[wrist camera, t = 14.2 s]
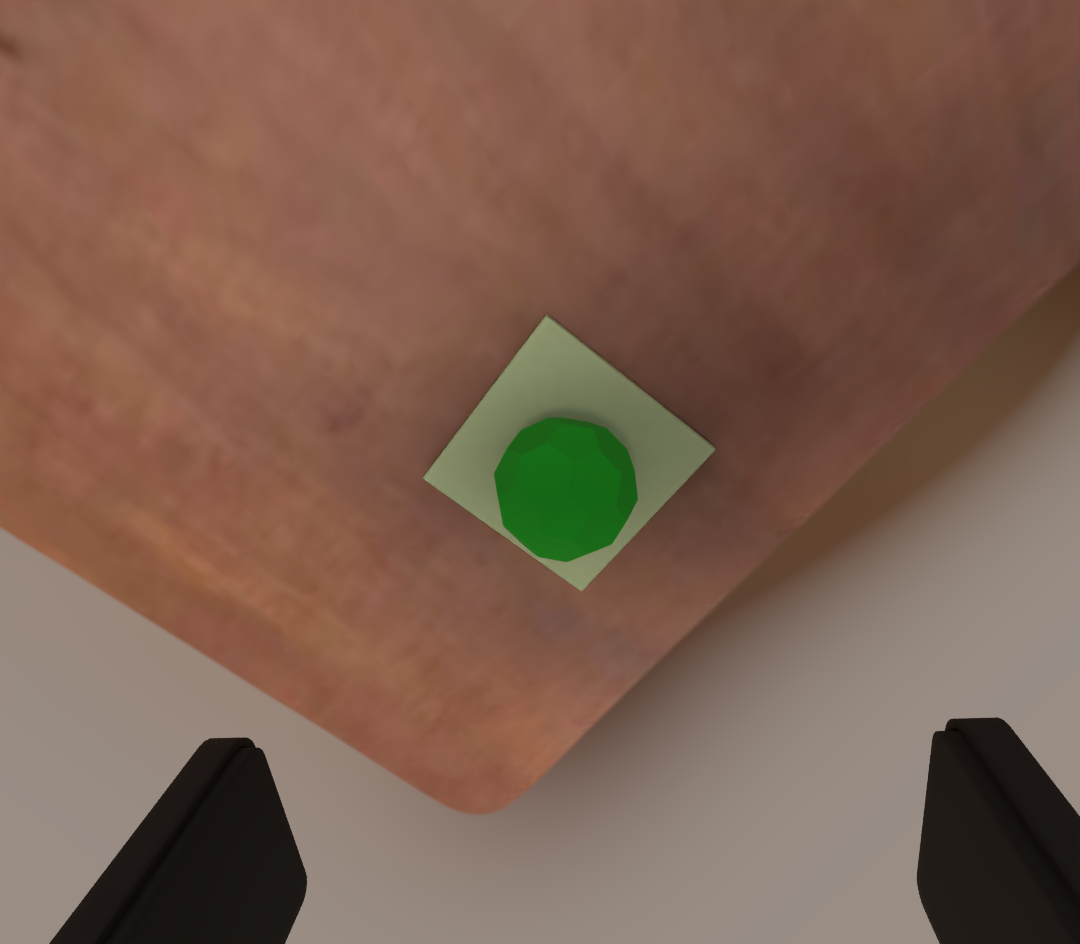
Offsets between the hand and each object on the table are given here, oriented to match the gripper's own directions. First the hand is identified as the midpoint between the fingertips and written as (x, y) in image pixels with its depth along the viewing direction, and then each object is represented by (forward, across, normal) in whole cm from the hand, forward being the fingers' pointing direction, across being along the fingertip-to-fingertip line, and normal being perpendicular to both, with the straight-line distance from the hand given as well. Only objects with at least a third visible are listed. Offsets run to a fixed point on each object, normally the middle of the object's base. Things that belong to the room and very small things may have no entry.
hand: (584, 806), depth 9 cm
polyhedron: (+17, +1, +1) cm, 17 cm away
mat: (+17, +1, +1) cm, 17 cm away
